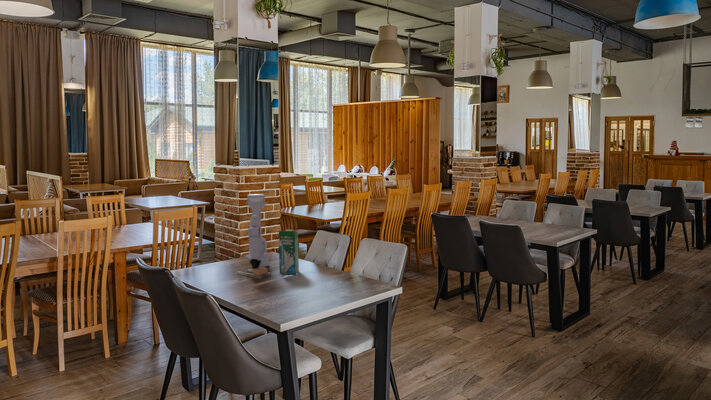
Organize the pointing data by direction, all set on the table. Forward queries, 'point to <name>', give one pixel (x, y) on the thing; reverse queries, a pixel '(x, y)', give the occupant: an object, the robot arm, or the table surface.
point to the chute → (253, 274)
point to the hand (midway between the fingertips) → (255, 272)
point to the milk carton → (288, 252)
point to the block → (260, 271)
